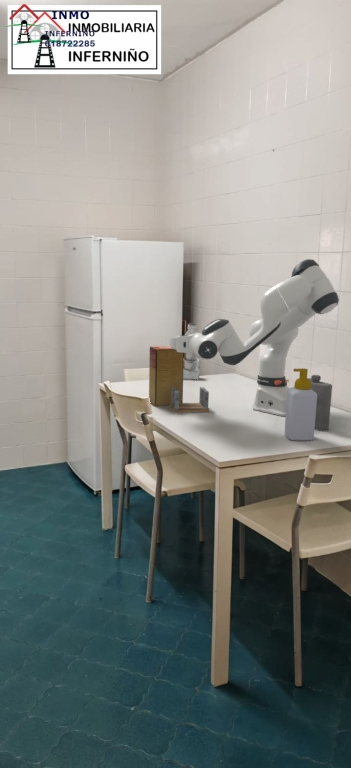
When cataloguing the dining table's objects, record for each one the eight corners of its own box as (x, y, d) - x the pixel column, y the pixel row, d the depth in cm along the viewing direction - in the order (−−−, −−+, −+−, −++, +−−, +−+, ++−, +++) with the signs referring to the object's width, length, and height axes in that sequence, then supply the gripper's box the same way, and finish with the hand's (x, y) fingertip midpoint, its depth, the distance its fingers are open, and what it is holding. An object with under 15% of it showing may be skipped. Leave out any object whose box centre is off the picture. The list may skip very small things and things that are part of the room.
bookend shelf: (208, 411, 240) (209, 392, 238) (174, 412, 237) (175, 392, 235) (203, 406, 249) (203, 387, 248) (170, 406, 247) (170, 387, 245)
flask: (294, 421, 228) (298, 372, 224) (306, 420, 230) (310, 371, 226) (319, 431, 215) (323, 379, 211) (331, 430, 217) (335, 378, 213)
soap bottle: (283, 433, 210) (288, 366, 205) (307, 434, 211) (312, 367, 206) (289, 441, 201) (294, 371, 196) (314, 441, 202) (320, 371, 197)
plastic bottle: (181, 371, 240) (183, 326, 232) (184, 366, 246) (186, 321, 238) (196, 373, 238) (198, 327, 231) (199, 368, 245) (201, 323, 237)
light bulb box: (199, 377, 314) (200, 358, 311) (198, 380, 307) (199, 360, 305) (180, 376, 315) (180, 357, 312) (178, 379, 308) (179, 359, 306)
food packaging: (175, 399, 259) (177, 345, 254) (183, 404, 251) (185, 348, 246) (147, 401, 254) (148, 346, 249) (155, 406, 246) (156, 349, 241)
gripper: (224, 336, 226) (215, 332, 239) (173, 336, 222) (167, 332, 235) (223, 352, 227) (215, 347, 241) (173, 352, 223) (167, 347, 237)
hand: (191, 339), depth 238 cm, fingers closed on plastic bottle, 6 cm apart
